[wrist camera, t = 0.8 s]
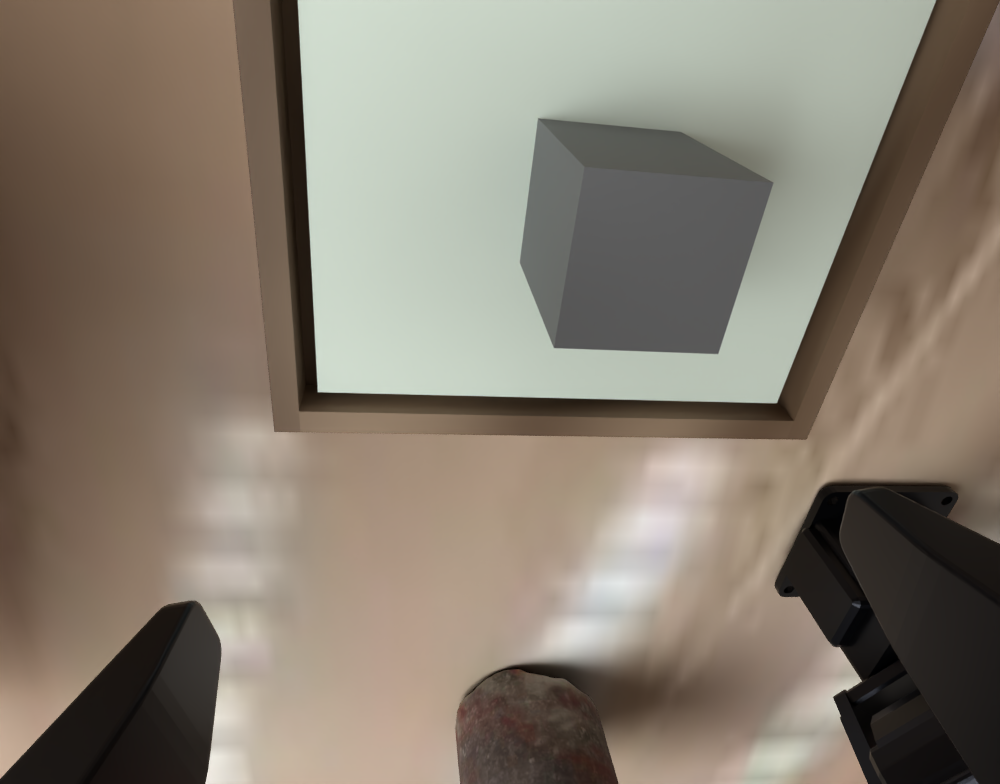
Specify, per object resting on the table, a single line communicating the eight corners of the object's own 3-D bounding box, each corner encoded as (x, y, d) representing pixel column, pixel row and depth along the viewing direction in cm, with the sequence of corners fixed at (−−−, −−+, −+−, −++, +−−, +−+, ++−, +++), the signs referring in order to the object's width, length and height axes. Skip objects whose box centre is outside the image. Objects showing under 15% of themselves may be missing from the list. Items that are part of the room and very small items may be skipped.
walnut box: (832, -34, 17) (1018, -42, 12) (715, 335, 23) (806, 439, 18) (283, -112, 15) (216, -163, 10) (308, 318, 21) (274, 431, 15)
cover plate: (925, -46, 13) (1164, -59, 9) (763, 387, 18) (864, 504, 14) (297, -140, 11) (232, -212, 7) (321, 375, 16) (293, 505, 12)
